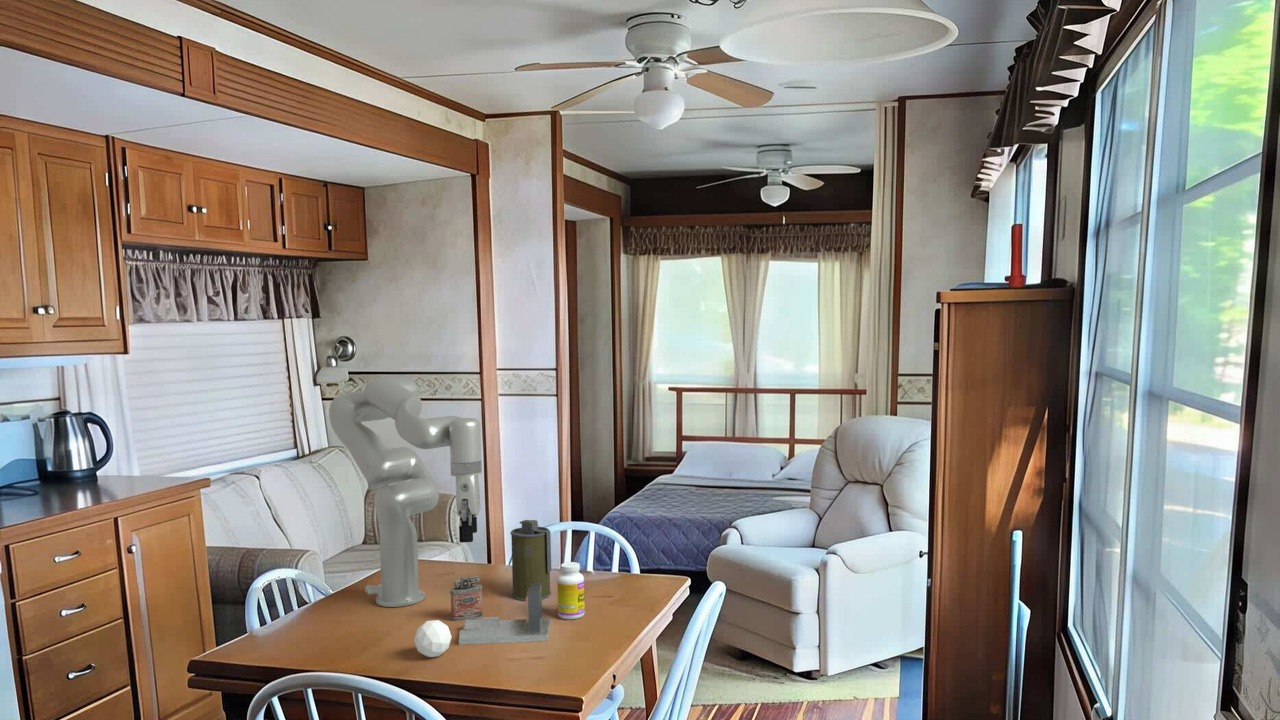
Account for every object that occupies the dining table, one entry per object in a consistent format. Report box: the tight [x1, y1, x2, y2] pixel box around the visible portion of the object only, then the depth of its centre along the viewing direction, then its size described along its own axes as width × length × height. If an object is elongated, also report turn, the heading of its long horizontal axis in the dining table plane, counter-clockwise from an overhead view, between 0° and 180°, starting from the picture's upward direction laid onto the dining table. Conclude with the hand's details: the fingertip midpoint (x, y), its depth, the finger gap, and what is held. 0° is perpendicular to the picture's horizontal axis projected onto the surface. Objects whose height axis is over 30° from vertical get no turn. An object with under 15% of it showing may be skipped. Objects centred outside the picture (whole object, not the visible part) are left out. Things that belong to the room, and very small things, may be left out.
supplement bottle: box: [556, 561, 586, 621], centre depth 206 cm, size 7×7×13 cm
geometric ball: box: [414, 619, 453, 658], centre depth 182 cm, size 8×8×8 cm
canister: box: [509, 519, 552, 602], centre depth 223 cm, size 11×10×20 cm
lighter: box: [449, 575, 484, 622], centre depth 206 cm, size 8×3×10 cm, turn 117°
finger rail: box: [458, 583, 551, 646], centre depth 194 cm, size 20×11×10 cm, turn 93°
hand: (468, 537), depth 206 cm, fingers open, 9 cm apart
